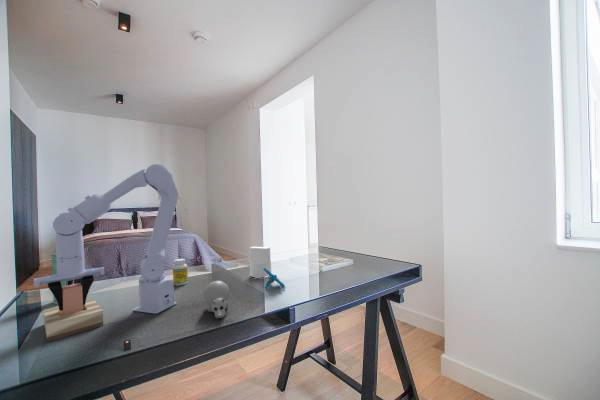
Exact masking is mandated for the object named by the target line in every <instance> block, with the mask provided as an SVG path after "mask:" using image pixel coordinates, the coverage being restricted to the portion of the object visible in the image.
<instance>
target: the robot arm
mask: <svg viewBox="0 0 600 400" xmlns="http://www.w3.org/2000/svg"><path fill="white" fill-rule="evenodd" d="M148 185H149V187H151V188H153V189H154V190H155V191H156V193H157V194H158V196H160V201H159V207H158V211H157V214H156V217H155V220H154V221H155V222H154V224H153V229H152V232H151V236H150V241H149V245H148V247H147V250H146V253H145V255H144V257H143V258H142V259H141V261H140V262H139V269H140V276H141V277H139V278H138V290H139V291H138V293H139V306H137V307H135V308H133V309H132V311H133V312H134V311H135V312H141V313H148V314H154V315H157V314H159V313H160V312H163V311H165V310H167V309H170V307H171V308H172V306H175V305H176V304H177V301H175V285H174V283H173V281H172V280H171V279H168V278H167V277H166V274H165V270H166V269H165V263H164V259H165V255H166V254H165V252H166V247H167V243H168V238H169V234H170V231H171V227H172V223H173V219H174V216H175V211H176V207H177V204H178V199H179V192H178V189H177V187H176V184H175V181H174V178H173V175H172V173H171V172H170V171H169V170H168V169H167V168H166V167H165V166H164V165H162V164H157V163H156V164H151V165H149V166H148V167H147V168H143V169H141V170H139V171H137V172H136V173H135V172H134V173H133V174H132V175H130V176H129V177H127V178H126V179H123V181H121V182H120V183H118V184H117V185H115V186H114V187H113V188H111V189H110V190H108V191H107V192H105V193H104V194H92V195H86V196H85V197H84V199H85V200H83V201H82V202H80V203H79V204H77V205H75V206H74V207H72V206H71V207H68V208H67V212H63V213H59V215H57V216H56V217H55V218H54V220H53V222H52V227H53V230H54V231H55V232H56V235H55V239H56V241H55V249H56V258H57V274H54V275H52V274H51V275H46V276H40V277H36V278H33V288H38V287H42V286H48V289H49V291H50V292H51V293H52V296H53V295H54V296H55V298H56V300H57V302H58V305H57V307H59V310H60V311H61V310H63V302H62V286H61V282H64V281H70V280H74V281H75V280H79V279H80V284H81V285H82V294H83V305H85V304H86V300H87V297H88V294H89V291H90V289H91V287H92V285H93V283H94V281H95V278H94V277H96V276H103V275H105V267H103V266H101V267H92V268H86V267H85V249H84V248H85V246H84V245H85V244H84V242H85V241H84V238H83V229H84V227H85V225H87V224H88V225H89V224H91V223H92V222H94V221H96V220H97V219H99V218H100V217H101V216H103V215H104V214H106V213H108V212H109V211H110V210H111V206H112V205H111V204H112V203H113V202H115V201H117V200H118V199H120V198H122V197H123V196H125V195H127V194H128V193H130V192H131V191H134V190H135V189H136V188H145V187H147V186H148ZM62 279H63V280H62Z"/></svg>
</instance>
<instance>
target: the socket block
mask: <svg viewBox="0 0 600 400" xmlns="http://www.w3.org/2000/svg"><path fill="white" fill-rule="evenodd" d="M42 311H43V326H44V332H45V338H46V342H51V341H54V340H58V339H61V338H65V337H68V336H71V335H74V334H78V333H81V332H85V331H88V330H92V329H95V328H98V327H101V326H104V311H103V309H102V307H101V306H100V305H99V304H98V302H97V301H96V300H95V299H94V298H90V299H86V304H85V305H83V311H80V312H76V313H72V314H68V315H64V316H62V310H61V311H60V310H59V306H56V307H51V308H47V309H43V310H42Z"/></svg>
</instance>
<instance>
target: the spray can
mask: <svg viewBox="0 0 600 400" xmlns="http://www.w3.org/2000/svg"><path fill="white" fill-rule="evenodd" d="M51 266H52V267H51V270H52V271H51V272H52V274H51V275H54V274H57V258H56V248H54V250H52V251H51ZM62 280H63V279H62ZM73 284H75V280H70V281H64V282H61V286H68V285H73ZM52 299H53V304H55V305H57V304H58V302H57V300H56V298H55V296H54V295H53V294H52Z"/></svg>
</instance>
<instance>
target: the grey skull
mask: <svg viewBox="0 0 600 400" xmlns="http://www.w3.org/2000/svg"><path fill="white" fill-rule="evenodd" d="M229 297H230V289H229V285H228V284H227V283H226V282H224V281H223V280H213V281H211V282H209V284H207V285H206V287H205V289H204V292H203V298H204V302H205V303H206V304H207V307H206V309H207V311H208V312H209V313H214V317H215V318H216V319H217V318H221V319H223V318H224V317H225V314H226V310H227V309H228V307H229V304H228V299H229ZM226 308H227V309H226ZM222 317H223V318H222Z"/></svg>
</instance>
